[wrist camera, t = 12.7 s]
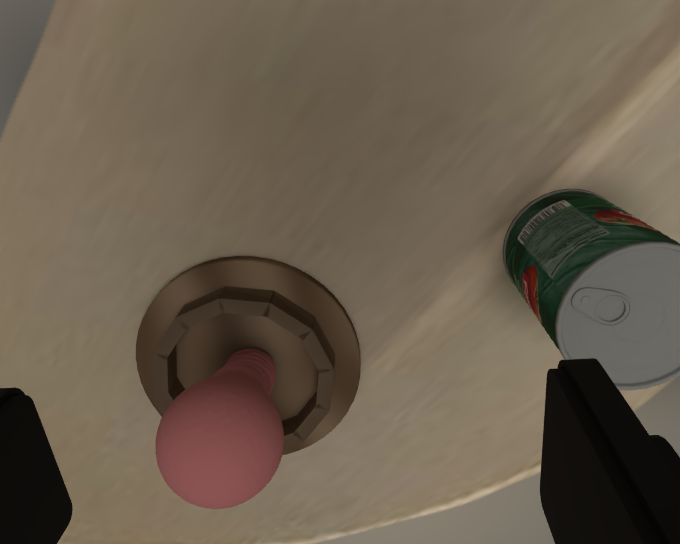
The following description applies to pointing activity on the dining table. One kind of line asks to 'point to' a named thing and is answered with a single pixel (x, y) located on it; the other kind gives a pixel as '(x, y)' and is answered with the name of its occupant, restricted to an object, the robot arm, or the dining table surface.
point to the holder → (254, 340)
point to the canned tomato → (600, 284)
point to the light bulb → (223, 434)
